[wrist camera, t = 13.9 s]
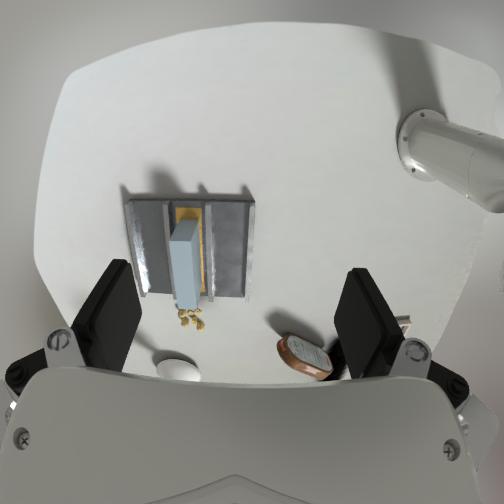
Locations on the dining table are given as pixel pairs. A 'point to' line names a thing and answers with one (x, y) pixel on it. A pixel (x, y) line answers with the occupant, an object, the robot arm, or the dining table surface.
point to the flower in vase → (178, 370)
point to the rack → (211, 243)
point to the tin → (304, 356)
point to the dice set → (194, 319)
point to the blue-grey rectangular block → (186, 263)
